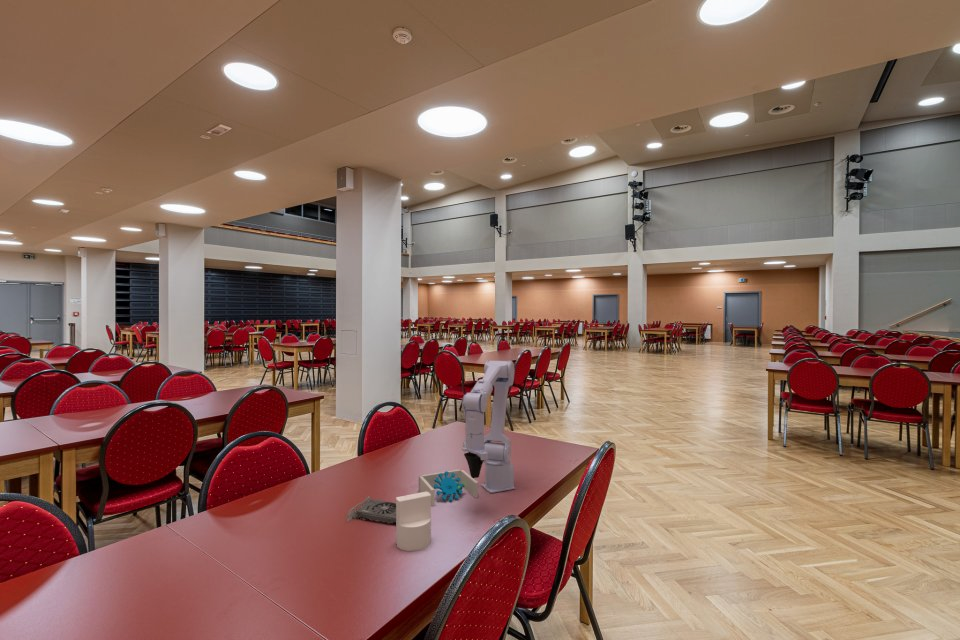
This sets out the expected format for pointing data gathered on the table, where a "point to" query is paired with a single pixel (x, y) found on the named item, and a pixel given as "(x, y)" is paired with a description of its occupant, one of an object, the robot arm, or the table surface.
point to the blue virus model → (448, 486)
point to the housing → (471, 484)
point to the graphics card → (374, 511)
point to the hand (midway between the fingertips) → (475, 477)
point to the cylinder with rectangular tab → (413, 521)
